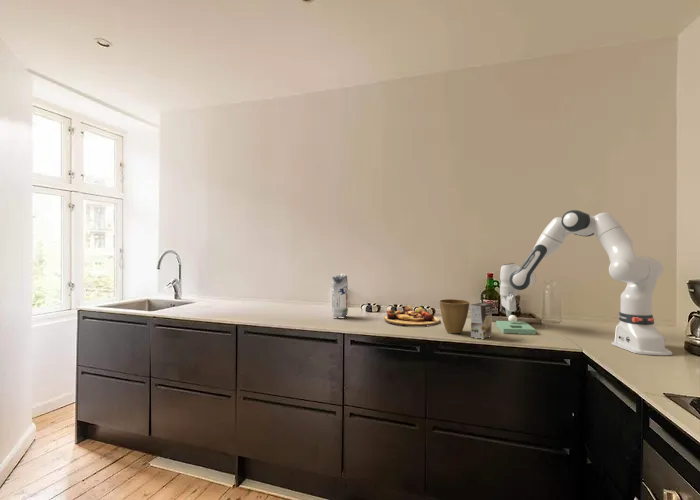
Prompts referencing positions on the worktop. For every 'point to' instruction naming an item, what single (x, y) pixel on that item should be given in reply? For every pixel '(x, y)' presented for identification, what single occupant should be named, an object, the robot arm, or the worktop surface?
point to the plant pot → (454, 314)
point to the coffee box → (481, 320)
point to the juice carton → (339, 296)
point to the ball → (512, 318)
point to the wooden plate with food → (411, 317)
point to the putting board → (515, 327)
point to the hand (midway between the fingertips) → (508, 316)
